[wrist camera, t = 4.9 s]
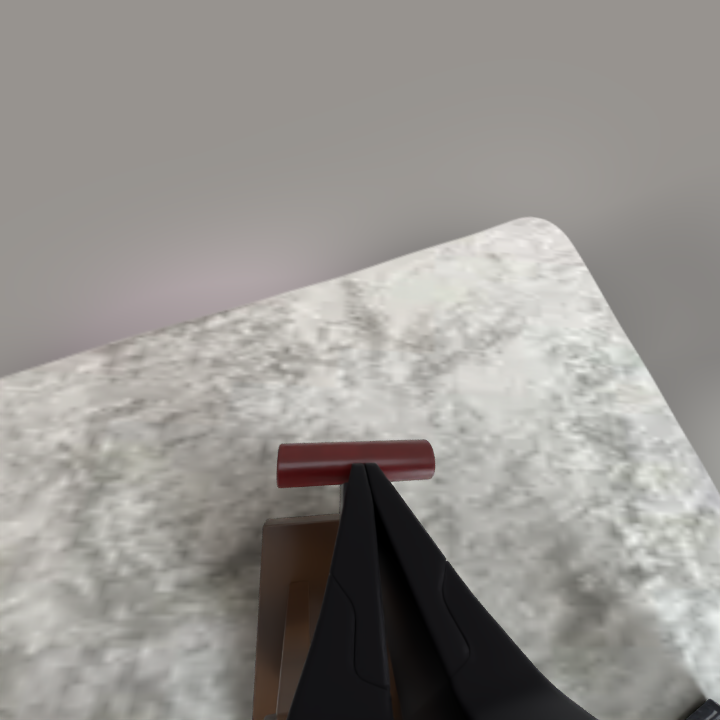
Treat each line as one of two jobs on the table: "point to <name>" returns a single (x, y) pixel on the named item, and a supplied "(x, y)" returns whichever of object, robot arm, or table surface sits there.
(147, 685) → the table surface
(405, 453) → the crank
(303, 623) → the bracket
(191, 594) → the table surface
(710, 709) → the small box
